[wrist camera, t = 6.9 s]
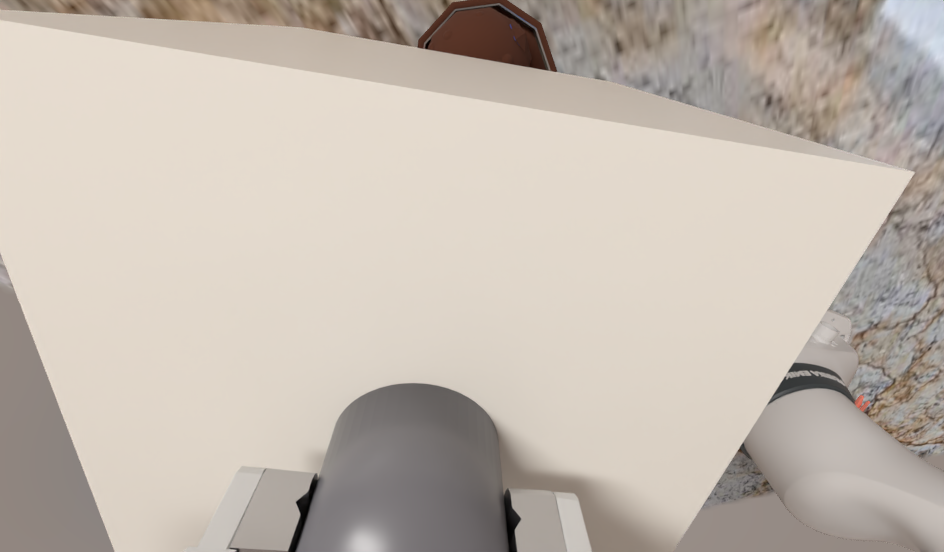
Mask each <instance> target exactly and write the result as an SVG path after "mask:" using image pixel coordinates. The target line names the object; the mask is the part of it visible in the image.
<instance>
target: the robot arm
mask: <svg viewBox="0 0 944 552" xmlns="http://www.w3.org/2000/svg"><path fill="white" fill-rule="evenodd" d="M850 334H851V321H850V319H849V318H847V317H846V316H845V315H843V314H840V313H838V312H835V311H832V310H830V309H828V310H827V311H826V313H825V314H824V316H823V317H822V319H821V321H820V322H819V324H818V325H817V327H816V328H815V330H814V332H813V333H812V335H811V336H810V338H809V339H808V341H807V343H806V344H805V346H804V347H803V349H802V350H801V352H800V354H799V355H798V357H797V358H796V360H795V361H794V363H793V365H792V366H791V368H790V369H789V371H788V372H787V374H786V376H785V377H784V379H783V380H782V382H781V383H780V385H779V387H778V388H777V390H776V391H775V393H774V394H773V396H772V398H771V399H770V401H769V402H768V404H767V405H766V407H765V408H764V410H763V412H762V413H761V415H760V416H759V418H758V419H757V421H756V423H755V424H754V426H753V427H752V429H751V430H750V432H749V434H748V435H747V437H746V438H745V440H744V441H743V443H742V445H741V446H740V449H741V450H742V452H743V453H744V454H745V455H746V456H747V457H749V458H750V459H752V460H753V461H754V462H755V464H756V465H757V467H758V468H759V469H760V471H761V472H762V474H763V475H764V477H765V478H766V479H767V481H768V482H769V484H770V485H771V487H772V488H773V490H774V491H775V492H776V494H777V495H778V496H779V498H780V500H781V501H782V502H783V504H784V505H785V507H786V508H787V510H788V511H789V512H790V513H791V514H792V515H793V516H794V517H795V518H796V519H798V520H799V521H800V522H802V523H803V524H805V525H806V526H808V527H810V528H812V529H814V530H816V531H818V532H821V533H824V534H827V535H830V536H834V537H838V538H842V539H850V540H863V541H880V542H887V543H892V544H896V545H900V546H902V547H905V548H908V549H910V550H913V551H915V552H944V470H941V469H939V468H937V467H935V466H933V465H932V464H930V463H928V462H927V461H925V460H923V459H922V458H920V457H919V456H917V455H916V454H914V453H913V452H911V451H910V450H909V449H907V448H906V447H905V446H903V445H902V444H901V443H900V442H898V441H897V440H896V439H894V438H893V437H892V436H891V435H889V434H888V433H887V432H886V431H885V430H883V429H882V428H881V427H880V426H878V425H877V424H876V423H875V422H874V421H873V420H871V419H870V418H869V417H868V416H867V415H866V414H865V413H863V411H864V410H865V409H866V407H867V406H868V404H869V403H870V402H869V401H867V402H866V403H865V404H864V405H863V406H862V407H861V408H860V409H859V407H860V406H861V404H862V401H863V398H864V396H862V395H860V396H859V397H858V398H857V400H856V401H855V402H854V399H853V397H852V395H851V394H850V392H849V390H848V386H849V385H850V383H851V381H852V380H853V378H854V376H855V374H856V371H857V368H858V355H857V353H856V351H855V350H854V349H853V348H852V347H851V346H850V345H849V344H848V340H849V337H850ZM317 480H318V475H317V473H310V472H300V471H290V470H280V469H270V468H261V467H249V466H241V467H240V469H239V470H238V471H237V472H236V473H235V475H234V477H233V479H232V480H231V482H230V484H229V486H228V488H227V490H226V492H225V494H224V496H223V498H222V500H221V502H220V504H219V506H218V508H217V509H216V511H215V513H214V515H213V517H212V519H211V521H210V523H209V525H208V527H207V529H206V531H205V533H204V535H203V537H202V538H201V540H200V542H199V544H198V546H197V547H188V548H187V549H185V550H184V551H183V552H295V549H296V546H297V543H298V540H299V537H300V533H301V530H302V527H303V524H304V521H305V518H306V515H307V512H308V508H309V505H310V502H311V499H312V496H313V493H314V490H315V487H316V484H317ZM504 503H505V513H506V524H507V534H508V544H509V552H592V549H591V545H590V541H589V537H588V534H587V530H586V526H585V522H584V518H583V515H582V511H581V507H580V503H579V499H578V498H577V496H576V495H575V494H574V493H564V492H551V491H546V490H531V489H515V488H507V490H506V491H505V494H504Z"/></svg>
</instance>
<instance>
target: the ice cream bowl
mask: <svg viewBox="0 0 944 552" xmlns="http://www.w3.org/2000/svg"><path fill="white" fill-rule="evenodd" d="M418 48H421V49H427V50H433V51H438V52H444V53H450V54H456V55H461V56H467V57H473V58H478V59H484V60H490V61H496V62H501V63H507V64H513V65H518V66H524V67H530V68H535V69H541V70H547V71H553V72H557V70H556V67H555V64H554V61H553V58H552V55H551V52H550V49H549V46H548V43H547V40H546V37H545V34H544V30H543V27H542V24H541V23H540V22H538V21H537V20H535V19H534V18H532V17H531V16H530V15H528V14H527V13H525V12H524V11H522V10H521V9H519V8H518V7H516V6H515V5H513V4H512V3H510V2H509V1H507V0H467V1H460V2H452V4H451V5H450V6H449V7H448V8H447V9H446V10H445V11H444V12H443V13H442V15H441V16H440V17H439V18H438V19H437V20H436V21H435V22H434V23H433V24H432V26H431V27H430V28H429V29H428V30H427V31H426V32H425V33H424V34H423V36H422V37H421V38H420V39H419V41H418Z"/></svg>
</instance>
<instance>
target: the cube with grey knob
mask: <svg viewBox="0 0 944 552" xmlns="http://www.w3.org/2000/svg"><path fill="white" fill-rule="evenodd" d="M914 173H915V172H913V171H909V170H906V169H903V168H899V167H896V166H893V165H889V164H886V163H882V162H879V161H876V160H872V159H869V158H866V157H862V156H859V155H856V154H852V153H849V152H845V151H842V150H839V149H835V148H832V147H829V146H825V145H822V144H819V143H815V142H812V141H808V140H805V139H802V138H798V137H795V136H792V135H788V134H785V133H782V132H778V131H775V130H771V129H768V128H765V127H761V126H758V125H755V124H751V123H748V122H745V121H741V120H738V119H734V118H731V117H728V116H724V115H721V114H718V113H714V112H711V111H708V110H704V109H701V108H697V107H694V106H691V105H687V104H684V103H681V102H677V101H674V100H671V99H667V98H664V97H660V96H657V95H654V94H650V93H647V92H644V91H640V90H637V89H634V88H630V87H627V86H624V85H620V84H617V83H613V82H610V81H604V80H598V79H592V78H587V77H581V76H575V75H570V74H564V73H558V72H553V71H547V70H541V69H535V68H530V67H524V66H518V65H513V64H507V63H501V62H496V61H490V60H484V59H478V58H473V57H467V56H461V55H456V54H450V53H444V52H438V51H433V50H427V49H421V48H416V47H410V46H404V45H399V44H393V43H387V42H381V41H376V40H370V39H364V38H359V37H353V36H347V35H342V34H336V33H330V32H324V31H319V30H313V29H307V28H302V27H285V26H268V25H251V24H234V23H217V22H200V21H182V20H165V19H148V18H131V17H114V16H97V15H80V14H63V13H46V12H29V11H12V10H0V253H1V255H2V258H3V261H4V263H5V266H6V268H7V271H8V274H9V276H10V279H11V281H12V284H13V287H14V289H15V292H16V295H17V297H18V300H19V302H20V305H21V308H22V310H23V313H24V315H25V318H26V321H27V323H28V326H29V329H30V331H31V334H32V336H33V339H34V342H35V344H36V347H37V350H38V352H39V355H40V357H41V360H42V363H43V365H44V368H45V370H46V373H47V376H48V378H49V381H50V384H51V386H52V389H53V391H54V394H55V397H56V399H57V402H58V404H59V407H60V410H61V412H62V415H63V418H64V420H65V423H66V425H67V428H68V431H69V433H70V436H71V438H72V441H73V444H74V446H75V449H76V452H77V454H78V457H79V459H80V462H81V465H82V467H83V470H84V472H85V475H86V478H87V480H88V483H89V485H90V488H91V491H92V493H93V496H94V498H95V501H96V504H97V507H98V509H99V512H100V514H101V517H102V520H103V522H104V525H105V527H106V530H107V532H108V535H109V538H110V541H111V543H112V546H113V548H114V551H115V552H183V551H184V550H185V549H187V548H188V547H197V546H198V544H199V542H200V540H201V538H202V537H203V535H204V533H205V531H206V529H207V527H208V525H209V523H210V521H211V519H212V517H213V515H214V513H215V511H216V509H217V508H218V506H219V504H220V502H221V500H222V498H223V496H224V494H225V492H226V490H227V488H228V486H229V484H230V482H231V480H232V479H233V477H234V475H235V473H236V472H237V471H238V470H239V469H240V467H241V466H249V467H261V468H270V469H280V470H290V471H300V472H310V473H317V475H318V480H317V484H316V487H315V490H314V493H313V496H312V499H311V502H310V505H309V508H308V512H307V515H306V518H305V521H304V524H303V527H302V530H301V533H300V537H299V540H298V543H297V546H296V549H295V552H509V544H508V534H507V524H506V513H505V503H504V494H505V491H506V490H507V488H515V489H531V490H546V491H551V492H564V493H574V494H575V495H576V496H577V498H578V499H579V503H580V507H581V511H582V515H583V518H584V522H585V526H586V530H587V534H588V537H589V541H590V545H591V549H592V552H673V551H674V550H675V548H676V547H677V545H678V543H679V542H680V540H681V539H682V537H683V536H684V534H685V533H686V531H687V529H688V528H689V526H690V525H691V523H692V521H693V520H694V518H695V517H696V515H697V514H698V512H699V511H700V509H701V507H702V506H703V504H704V503H705V501H706V500H707V498H708V496H709V495H710V493H711V492H712V490H713V489H714V487H715V485H716V484H717V482H718V481H719V479H720V478H721V476H722V474H723V473H724V471H725V470H726V468H727V467H728V465H729V463H730V462H731V460H732V459H733V457H734V456H735V454H736V452H737V451H738V449H739V448H740V446H741V445H742V443H743V441H744V440H745V438H746V437H747V435H748V434H749V432H750V430H751V429H752V427H753V426H754V424H755V423H756V421H757V419H758V418H759V416H760V415H761V413H762V412H763V410H764V408H765V407H766V405H767V404H768V402H769V401H770V399H771V398H772V396H773V394H774V393H775V391H776V390H777V388H778V387H779V385H780V383H781V382H782V380H783V379H784V377H785V376H786V374H787V372H788V371H789V369H790V368H791V366H792V365H793V363H794V361H795V360H796V358H797V357H798V355H799V354H800V352H801V350H802V349H803V347H804V346H805V344H806V343H807V341H808V339H809V338H810V336H811V335H812V333H813V332H814V330H815V328H816V327H817V325H818V324H819V322H820V321H821V319H822V317H823V316H824V314H825V313H826V311H827V310H828V308H829V306H830V305H831V303H832V302H833V300H834V299H835V297H836V295H837V294H838V292H839V291H840V289H841V288H842V286H843V284H844V283H845V281H846V280H847V278H848V277H849V275H850V273H851V272H852V270H853V269H854V267H855V266H856V264H857V262H858V261H859V259H860V258H861V256H862V255H863V253H864V252H865V250H866V248H867V247H868V245H869V244H870V242H871V241H872V239H873V237H874V236H875V234H876V233H877V231H878V230H879V228H880V226H881V225H882V223H883V222H884V220H885V219H886V217H887V215H888V214H889V212H890V211H891V209H892V208H893V206H894V204H895V203H896V201H897V200H898V198H899V197H900V195H901V193H902V192H903V190H904V189H905V187H906V186H907V184H908V182H909V181H910V179H911V178H912V176H913V175H914Z"/></svg>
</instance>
